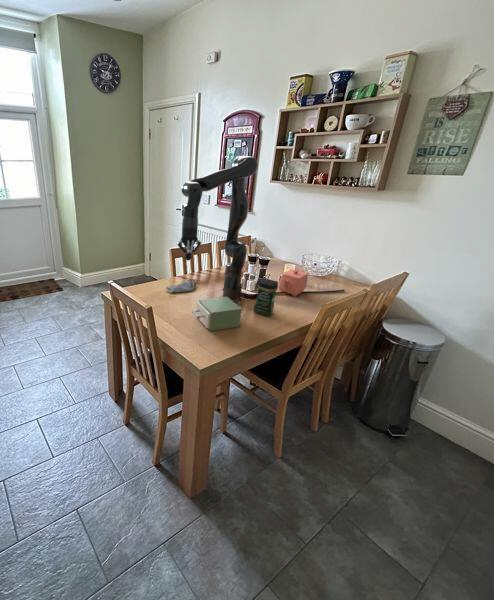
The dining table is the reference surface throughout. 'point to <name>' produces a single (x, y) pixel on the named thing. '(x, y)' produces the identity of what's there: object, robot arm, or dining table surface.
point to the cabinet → (222, 313)
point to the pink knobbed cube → (293, 282)
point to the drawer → (202, 315)
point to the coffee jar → (265, 296)
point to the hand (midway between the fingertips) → (188, 259)
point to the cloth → (182, 287)
